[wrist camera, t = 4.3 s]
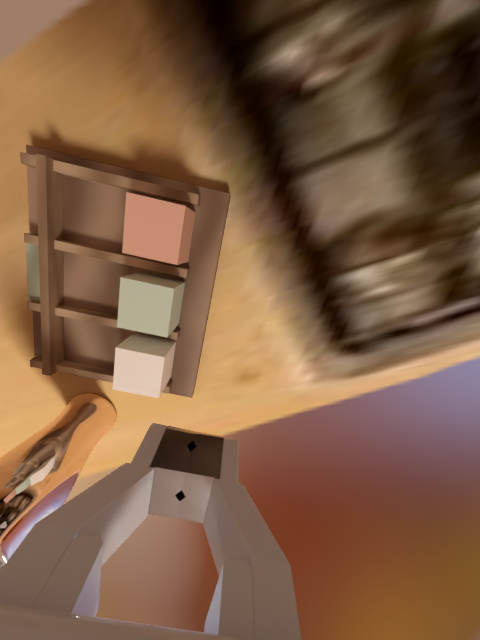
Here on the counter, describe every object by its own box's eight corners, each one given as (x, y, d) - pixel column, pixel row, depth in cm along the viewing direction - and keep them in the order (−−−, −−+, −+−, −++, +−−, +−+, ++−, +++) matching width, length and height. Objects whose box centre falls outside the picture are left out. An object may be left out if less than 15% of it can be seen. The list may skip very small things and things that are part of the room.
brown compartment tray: (230, 196, 23) (228, 188, 20) (193, 391, 29) (188, 408, 26) (37, 149, 22) (4, 134, 19) (43, 362, 28) (19, 376, 25)
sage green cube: (185, 281, 24) (174, 288, 20) (178, 323, 25) (167, 337, 21) (140, 272, 24) (120, 277, 20) (136, 314, 25) (116, 327, 21)
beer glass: (56, 394, 30) (-120, 534, 15) (108, 384, 29) (-23, 519, 15) (78, 439, 32) (-58, 599, 17) (128, 430, 31) (30, 588, 17)
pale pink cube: (176, 340, 26) (164, 357, 22) (170, 376, 27) (159, 398, 23) (134, 332, 26) (115, 347, 22) (131, 368, 27) (112, 389, 23)
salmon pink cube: (195, 212, 22) (185, 205, 18) (188, 261, 23) (177, 265, 20) (146, 201, 22) (126, 191, 18) (142, 251, 23) (122, 252, 19)
